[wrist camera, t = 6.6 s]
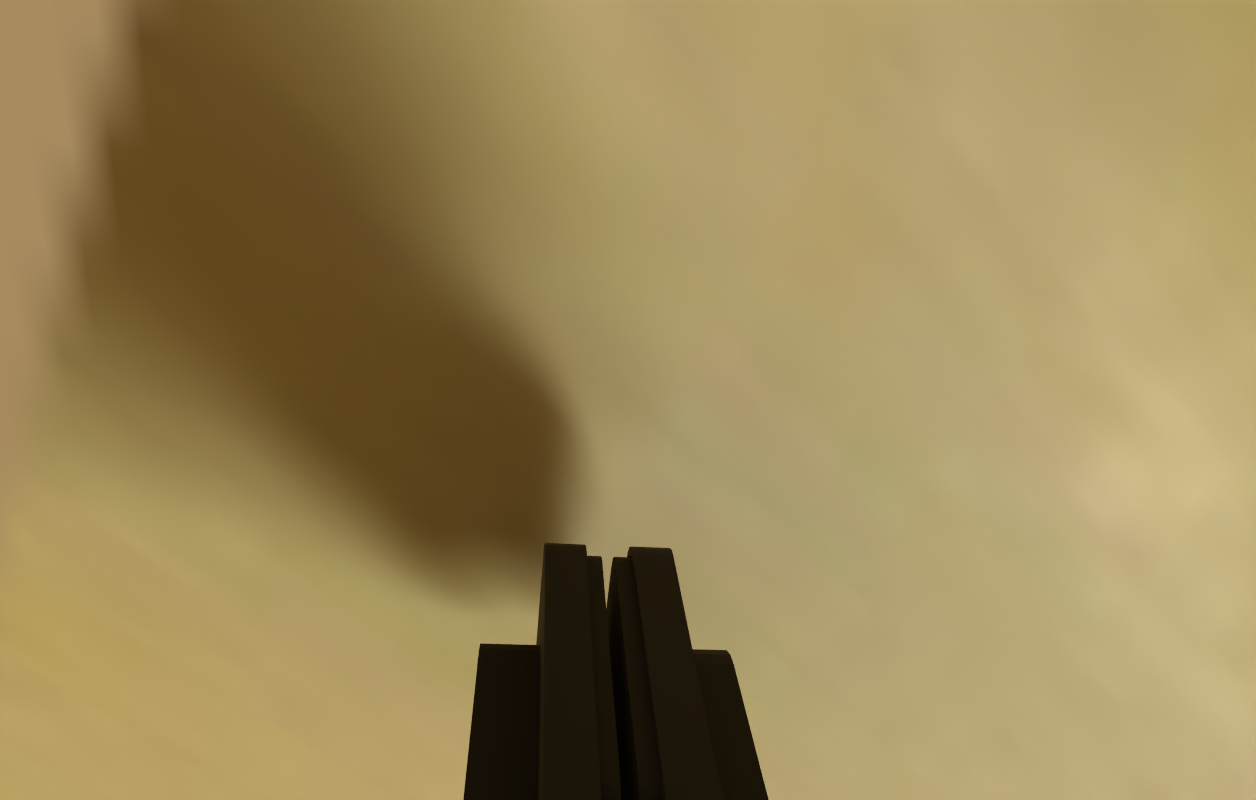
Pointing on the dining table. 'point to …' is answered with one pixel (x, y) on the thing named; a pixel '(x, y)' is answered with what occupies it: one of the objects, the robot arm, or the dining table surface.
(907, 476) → the dining table surface
